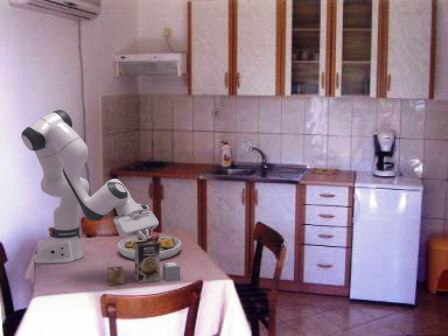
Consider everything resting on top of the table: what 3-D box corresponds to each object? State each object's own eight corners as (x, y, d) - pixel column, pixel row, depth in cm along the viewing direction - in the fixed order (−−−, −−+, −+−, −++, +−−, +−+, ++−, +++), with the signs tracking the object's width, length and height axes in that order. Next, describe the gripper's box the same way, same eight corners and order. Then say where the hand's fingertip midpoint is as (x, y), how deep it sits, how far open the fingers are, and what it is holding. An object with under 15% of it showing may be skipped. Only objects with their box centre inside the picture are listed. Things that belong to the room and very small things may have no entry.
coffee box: (138, 283, 237) (138, 245, 235) (134, 278, 243) (134, 241, 240) (160, 280, 241) (159, 243, 238) (155, 276, 247) (155, 239, 244)
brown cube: (109, 286, 234) (109, 271, 233) (107, 281, 240) (107, 266, 239) (124, 285, 236) (124, 270, 235) (122, 280, 242) (121, 265, 241)
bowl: (189, 258, 271) (189, 242, 270) (125, 266, 260) (125, 249, 259) (171, 241, 298) (171, 226, 297) (112, 247, 287) (112, 232, 286)
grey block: (166, 281, 240) (165, 267, 239) (162, 276, 246) (162, 262, 245) (180, 280, 242) (180, 265, 241) (176, 275, 248) (176, 261, 247)
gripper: (115, 213, 233) (132, 241, 228) (150, 204, 249) (167, 230, 245) (107, 222, 236) (124, 249, 232) (143, 213, 252) (159, 239, 248)
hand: (147, 239), depth 238 cm, fingers closed
